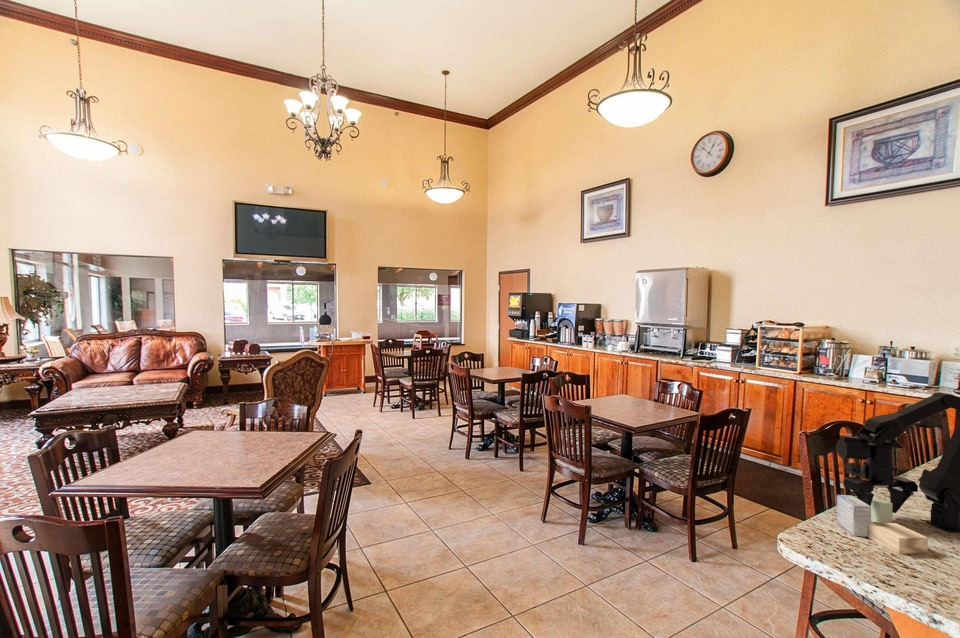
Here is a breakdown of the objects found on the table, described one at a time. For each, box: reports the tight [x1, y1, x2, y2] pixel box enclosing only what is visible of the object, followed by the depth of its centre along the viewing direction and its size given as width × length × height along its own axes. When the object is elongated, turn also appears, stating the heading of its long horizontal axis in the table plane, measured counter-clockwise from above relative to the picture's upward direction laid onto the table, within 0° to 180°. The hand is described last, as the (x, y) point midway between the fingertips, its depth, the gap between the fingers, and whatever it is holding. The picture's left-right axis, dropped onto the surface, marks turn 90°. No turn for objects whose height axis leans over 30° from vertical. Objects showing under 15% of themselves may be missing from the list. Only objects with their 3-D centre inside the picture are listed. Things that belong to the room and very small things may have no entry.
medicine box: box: [836, 494, 872, 538], centre depth 124 cm, size 8×4×9 cm, turn 168°
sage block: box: [870, 497, 893, 523], centre depth 130 cm, size 4×4×6 cm
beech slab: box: [868, 522, 929, 555], centre depth 116 cm, size 8×8×4 cm
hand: (879, 512), depth 130 cm, fingers open, 9 cm apart
